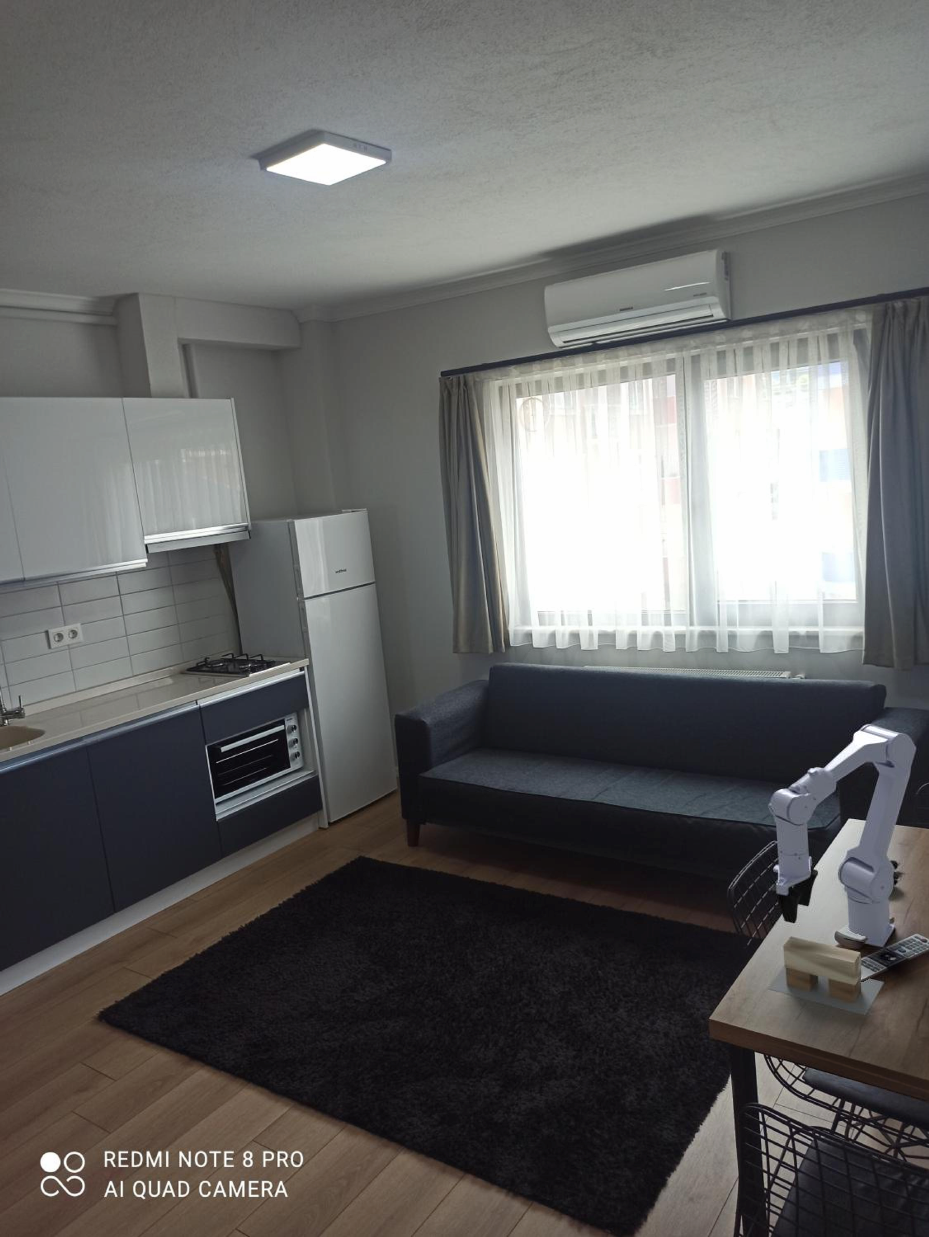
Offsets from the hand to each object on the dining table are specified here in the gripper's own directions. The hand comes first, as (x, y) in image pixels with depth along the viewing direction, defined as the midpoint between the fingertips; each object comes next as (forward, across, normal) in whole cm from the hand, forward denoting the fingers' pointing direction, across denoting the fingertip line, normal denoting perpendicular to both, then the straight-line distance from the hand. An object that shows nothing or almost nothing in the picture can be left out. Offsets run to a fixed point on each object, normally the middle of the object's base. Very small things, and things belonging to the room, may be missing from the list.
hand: (796, 913), depth 185 cm
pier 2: (+10, +8, +12) cm, 17 cm away
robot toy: (+10, -40, +3) cm, 41 cm away
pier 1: (+10, +8, +4) cm, 13 cm away
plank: (+6, +8, +8) cm, 13 cm away
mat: (+10, +8, +8) cm, 15 cm away
